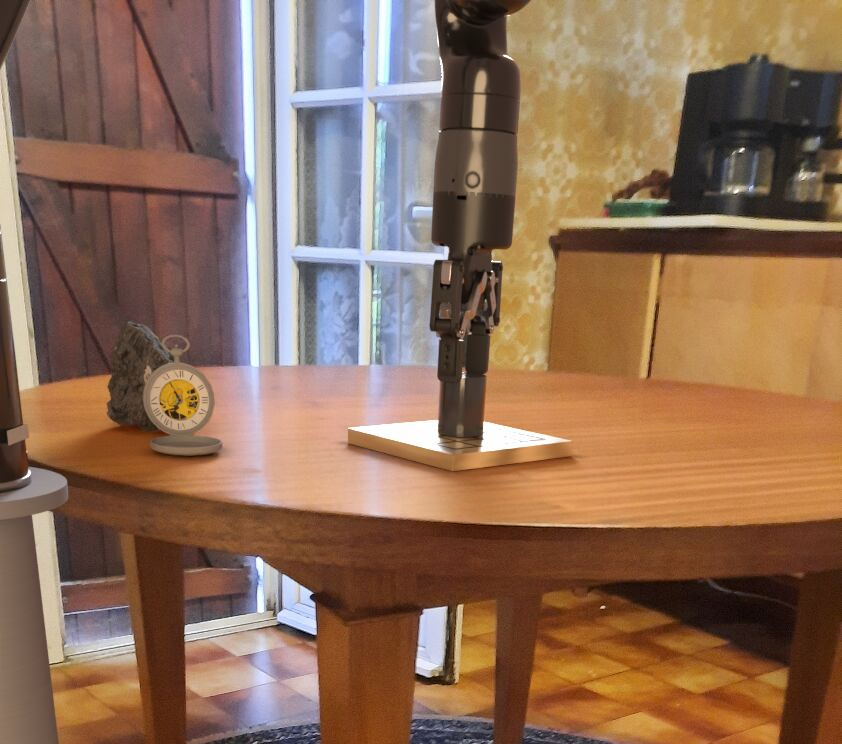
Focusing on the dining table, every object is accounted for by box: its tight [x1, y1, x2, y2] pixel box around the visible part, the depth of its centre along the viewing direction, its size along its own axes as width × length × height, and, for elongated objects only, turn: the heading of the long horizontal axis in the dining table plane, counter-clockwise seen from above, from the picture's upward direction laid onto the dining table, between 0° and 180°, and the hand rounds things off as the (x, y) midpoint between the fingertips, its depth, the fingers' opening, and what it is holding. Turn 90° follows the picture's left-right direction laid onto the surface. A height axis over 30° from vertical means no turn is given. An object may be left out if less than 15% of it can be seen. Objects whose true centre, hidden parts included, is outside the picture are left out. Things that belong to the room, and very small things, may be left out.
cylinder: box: [437, 371, 488, 438], centre depth 106 cm, size 5×5×6 cm
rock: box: [106, 320, 198, 432], centre depth 111 cm, size 12×10×10 cm
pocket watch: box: [143, 334, 223, 457], centre depth 99 cm, size 8×8×10 cm
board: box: [347, 419, 574, 472], centre depth 107 cm, size 16×16×2 cm
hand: (463, 377), depth 104 cm, fingers open, 8 cm apart
